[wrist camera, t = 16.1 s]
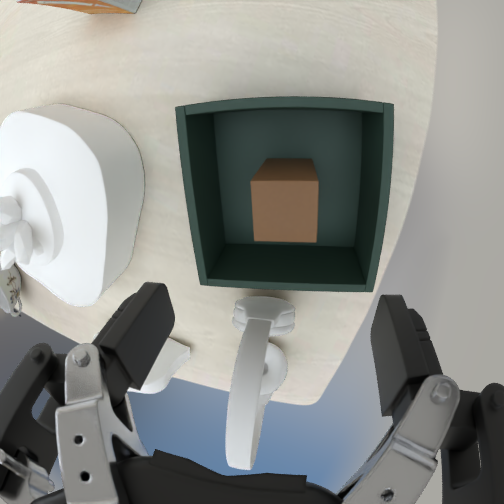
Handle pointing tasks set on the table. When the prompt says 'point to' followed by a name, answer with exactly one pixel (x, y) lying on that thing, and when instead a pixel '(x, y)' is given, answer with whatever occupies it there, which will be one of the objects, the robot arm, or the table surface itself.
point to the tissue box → (68, 199)
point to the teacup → (10, 290)
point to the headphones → (255, 373)
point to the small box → (91, 5)
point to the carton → (285, 200)
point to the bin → (329, 199)
